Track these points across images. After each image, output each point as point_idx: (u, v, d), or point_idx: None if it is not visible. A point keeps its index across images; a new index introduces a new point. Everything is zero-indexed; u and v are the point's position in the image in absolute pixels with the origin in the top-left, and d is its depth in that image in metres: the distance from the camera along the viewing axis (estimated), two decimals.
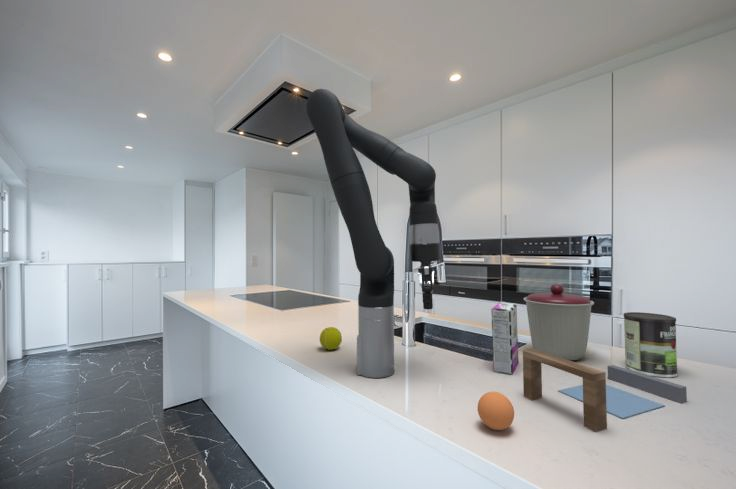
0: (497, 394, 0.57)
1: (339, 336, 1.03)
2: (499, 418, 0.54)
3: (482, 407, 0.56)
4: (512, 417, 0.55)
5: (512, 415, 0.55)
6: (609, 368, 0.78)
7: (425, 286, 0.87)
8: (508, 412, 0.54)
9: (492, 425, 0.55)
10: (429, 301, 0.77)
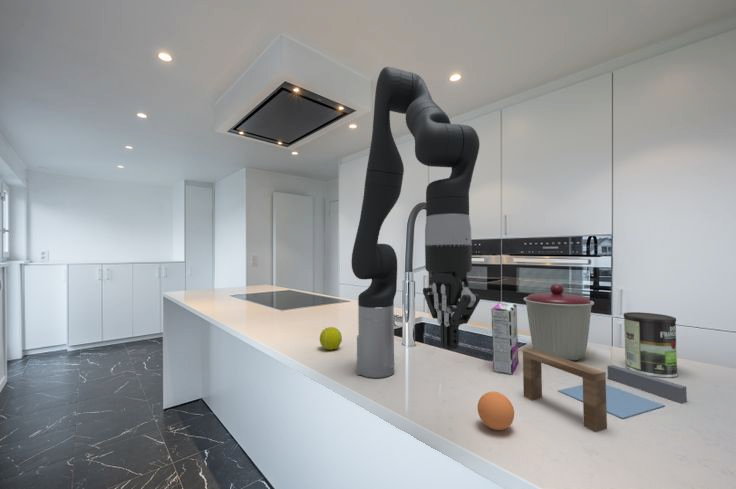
0: (497, 394, 0.57)
1: (339, 336, 1.03)
2: (499, 418, 0.54)
3: (482, 407, 0.56)
4: (512, 417, 0.55)
5: (512, 415, 0.55)
6: (609, 368, 0.78)
7: None
8: (508, 412, 0.54)
9: (492, 425, 0.55)
10: None
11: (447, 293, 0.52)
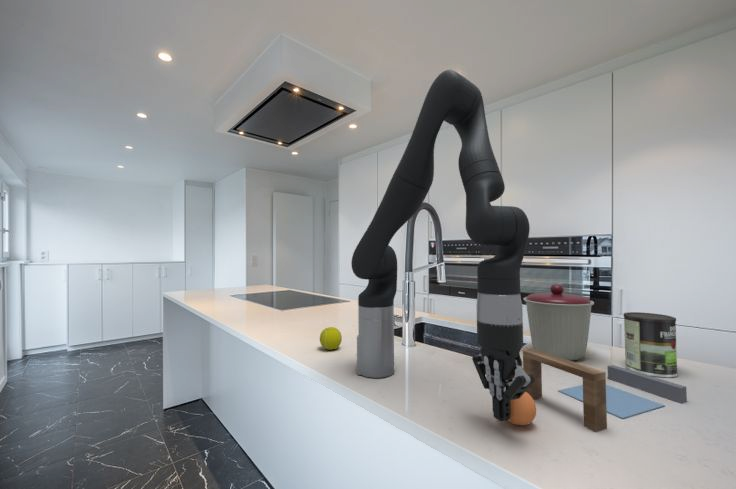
0: None
1: (339, 336, 1.03)
2: (526, 407, 0.56)
3: None
4: (531, 419, 0.56)
5: (532, 418, 0.56)
6: (609, 368, 0.78)
7: (504, 391, 0.56)
8: (534, 411, 0.56)
9: (513, 407, 0.56)
10: None
11: (500, 369, 0.55)
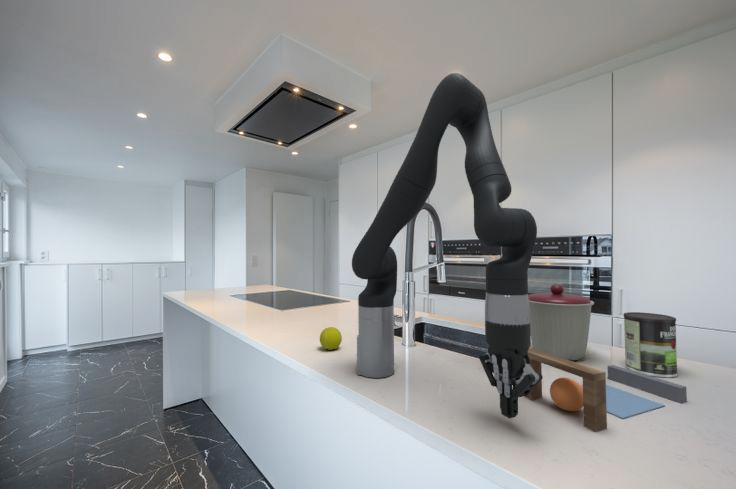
0: (562, 387, 0.62)
1: (339, 336, 1.03)
2: (578, 406, 0.60)
3: (559, 405, 0.62)
4: None
5: None
6: (609, 368, 0.78)
7: None
8: (580, 397, 0.60)
9: (575, 410, 0.62)
10: None
11: (509, 368, 0.56)
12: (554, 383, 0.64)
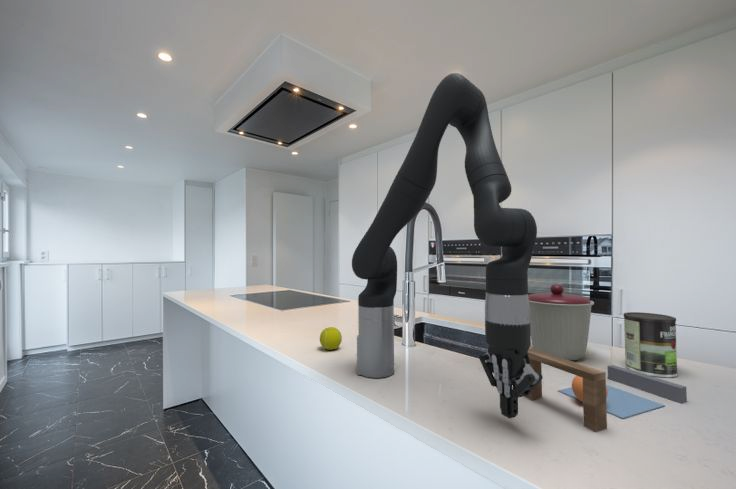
0: None
1: (339, 336, 1.03)
2: None
3: None
4: None
5: None
6: (609, 368, 0.78)
7: None
8: (606, 393, 0.63)
9: None
10: None
11: (509, 368, 0.56)
12: None
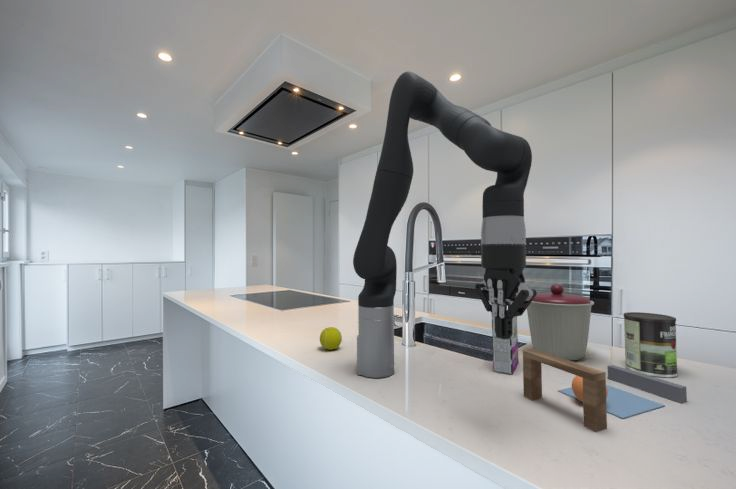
0: None
1: (339, 336, 1.03)
2: None
3: None
4: None
5: None
6: (609, 368, 0.78)
7: None
8: (606, 393, 0.63)
9: None
10: None
11: (504, 288, 0.57)
12: None
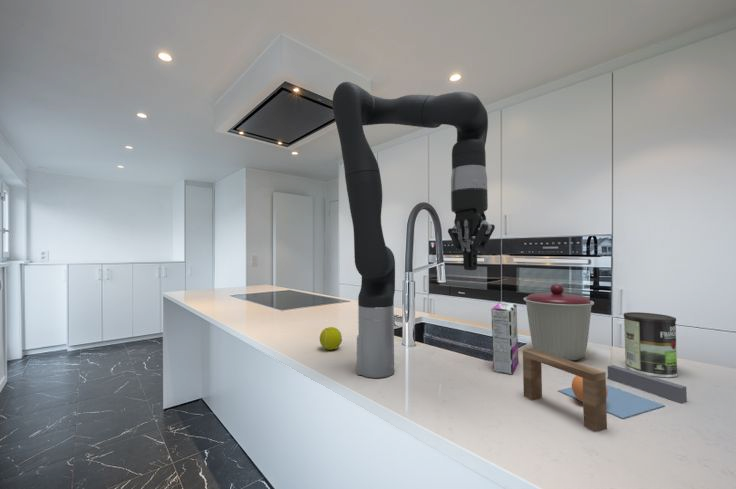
0: None
1: (339, 336, 1.03)
2: None
3: None
4: None
5: None
6: (609, 368, 0.78)
7: None
8: (606, 393, 0.63)
9: None
10: None
11: (469, 226, 0.68)
12: None
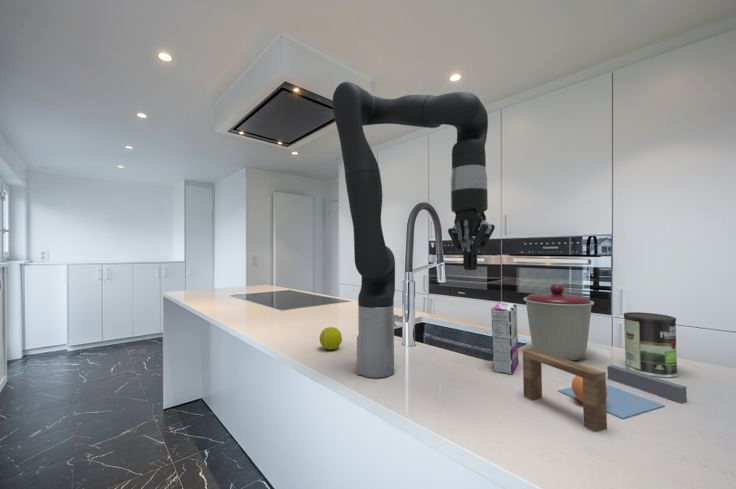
0: None
1: (339, 336, 1.03)
2: None
3: None
4: None
5: None
6: (609, 368, 0.78)
7: None
8: (606, 393, 0.63)
9: None
10: None
11: (469, 226, 0.68)
12: None
